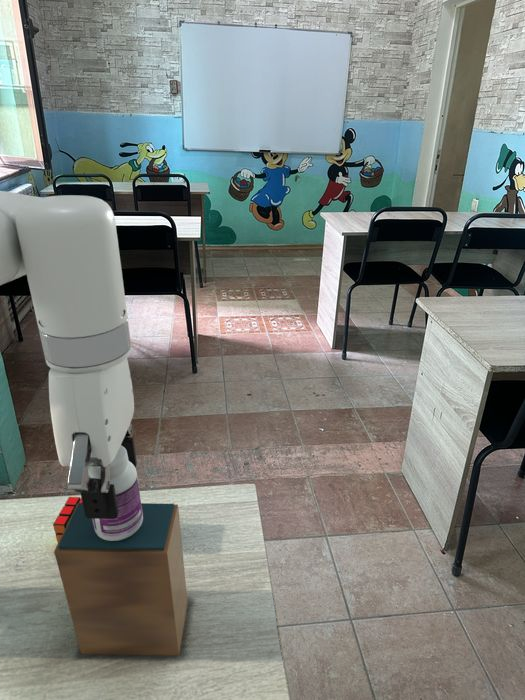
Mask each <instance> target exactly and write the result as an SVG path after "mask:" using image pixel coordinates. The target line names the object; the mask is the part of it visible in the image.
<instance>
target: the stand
mask: <svg viewBox="0 0 525 700" xmlns="http://www.w3.org/2000/svg"><path fill="white" fill-rule="evenodd" d="M78 504H79V503H78ZM78 504H77V505H76V507H75V510H74V512H73V514H72V516H71V518H70V520H69V522H68V524H67V526H66V528H65V530H64V532H63V534H62V536H61V538H60V540H59V542H57V544H56V547H55V549H54V552H53V553H54V556H55V560H56V564H57V568H58V571H59V575H60V578H61V584H62V587H63V590H64V591H63V592H64V594H65V595H64V596H65V598H66V602H67V606H68V610H69V613H70V617H71V621H72V625H73V629H74V632H75V635H76V640H77V644H78V647H79V651H80V655H115V656H116V655H117V656H119V655H120V656H121V655H123V656H125V655H127V656H179V655H180V652H181V646H182V641H183V640H182V639H183V634H184V629H185V628H184V627H185V622H186V616H187V609H188V593H187V583H186V574H185V563H184V562H185V561H184V552H183V542H182V531H181V521H180V510H179V504H176V503H173V504H174V510H173V514H172V518H171V522H170V527H169V531H168V535H167V539H166V543H165V548H164V550H99V549H59V548H58V546H59V544H60V542H61V540H62V538H63V536H64V533H65V531H66V529H67V527H68V525H69V523H70V521H71V519H72V517H73V515H74V513H75V511H76V509H77V506H78Z"/></svg>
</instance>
